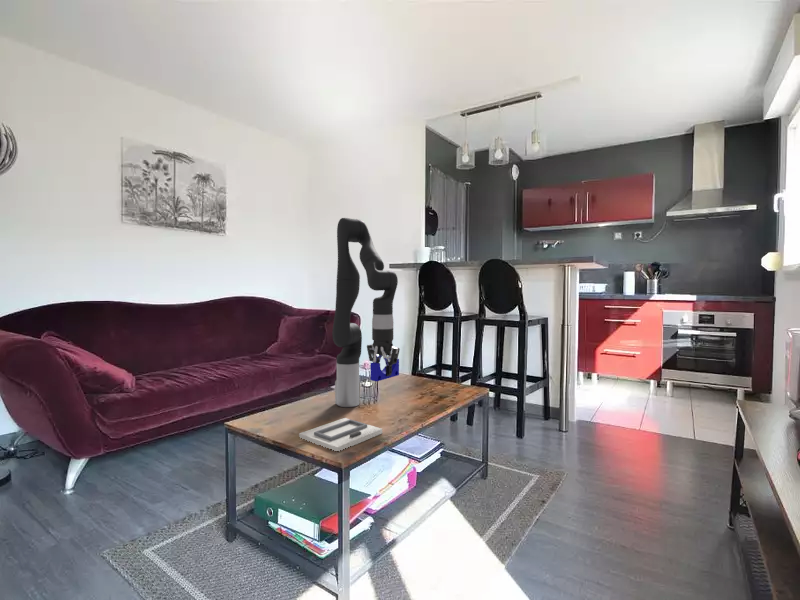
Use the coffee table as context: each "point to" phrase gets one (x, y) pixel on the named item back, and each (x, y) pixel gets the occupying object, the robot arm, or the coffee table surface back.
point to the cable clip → (383, 371)
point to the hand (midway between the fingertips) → (382, 374)
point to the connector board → (340, 434)
